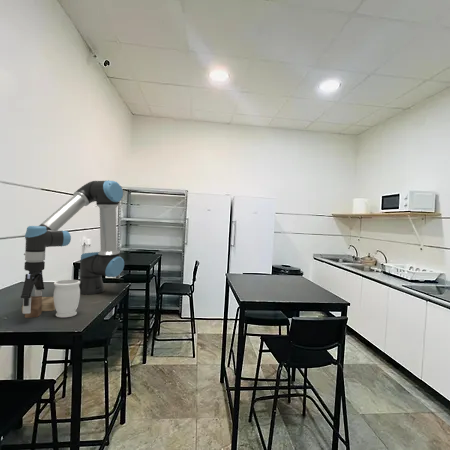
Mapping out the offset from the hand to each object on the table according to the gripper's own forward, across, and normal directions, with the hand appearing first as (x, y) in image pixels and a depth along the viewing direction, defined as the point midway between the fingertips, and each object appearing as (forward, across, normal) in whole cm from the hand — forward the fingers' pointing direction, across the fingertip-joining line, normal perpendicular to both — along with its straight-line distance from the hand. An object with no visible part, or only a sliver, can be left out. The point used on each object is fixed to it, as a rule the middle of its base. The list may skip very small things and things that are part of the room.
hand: (32, 309), depth 134 cm
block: (+3, -1, 0) cm, 3 cm away
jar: (+3, 0, +14) cm, 14 cm away
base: (+3, -14, 0) cm, 14 cm away
